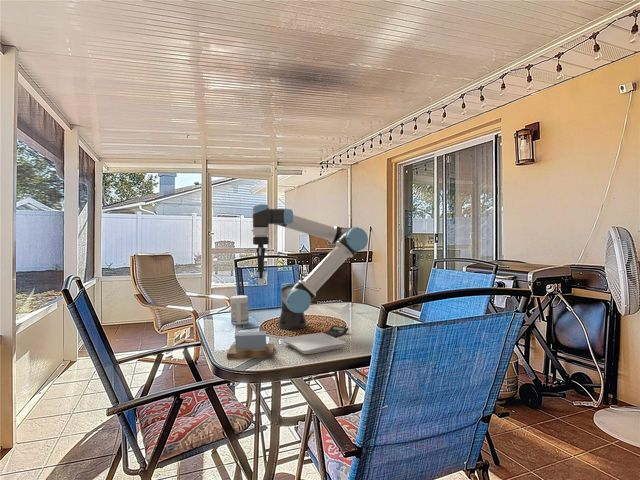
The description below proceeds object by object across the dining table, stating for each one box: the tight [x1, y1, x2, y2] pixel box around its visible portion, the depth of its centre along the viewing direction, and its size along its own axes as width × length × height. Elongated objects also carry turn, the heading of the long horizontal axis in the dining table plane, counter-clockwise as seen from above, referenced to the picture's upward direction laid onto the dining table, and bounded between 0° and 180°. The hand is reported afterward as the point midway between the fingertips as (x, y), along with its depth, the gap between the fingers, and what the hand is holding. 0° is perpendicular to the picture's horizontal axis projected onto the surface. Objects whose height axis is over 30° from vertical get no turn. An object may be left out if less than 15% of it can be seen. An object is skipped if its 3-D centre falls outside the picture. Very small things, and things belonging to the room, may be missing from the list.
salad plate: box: [282, 332, 347, 355], centre depth 164 cm, size 21×21×3 cm
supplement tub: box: [230, 294, 250, 326], centre depth 208 cm, size 10×10×15 cm
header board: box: [226, 343, 275, 359], centre depth 156 cm, size 18×12×6 cm, turn 94°
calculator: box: [322, 324, 349, 339], centre depth 184 cm, size 9×12×3 cm
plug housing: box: [234, 330, 267, 351], centre depth 155 cm, size 12×6×6 cm, turn 94°
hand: (261, 284), depth 183 cm, fingers closed
